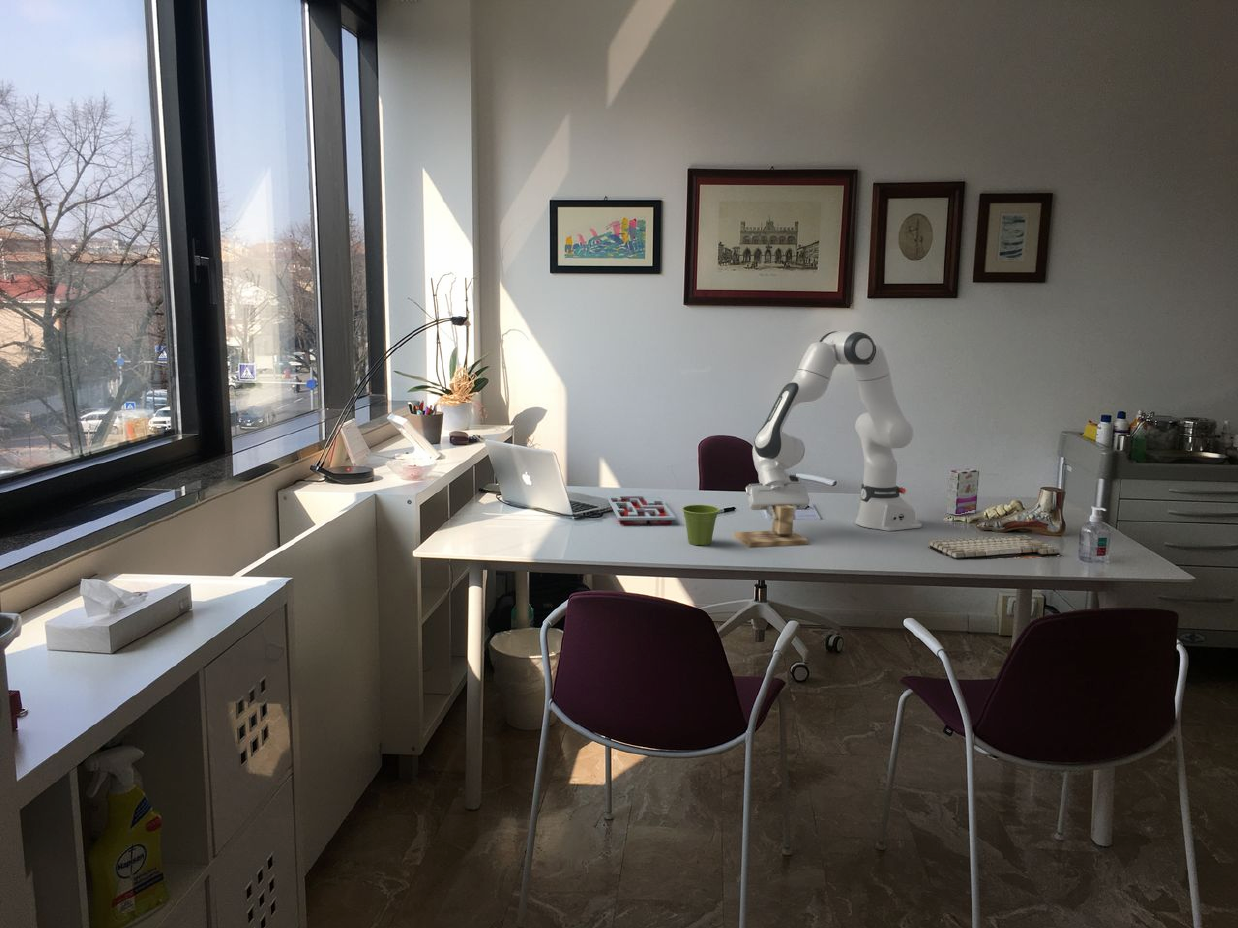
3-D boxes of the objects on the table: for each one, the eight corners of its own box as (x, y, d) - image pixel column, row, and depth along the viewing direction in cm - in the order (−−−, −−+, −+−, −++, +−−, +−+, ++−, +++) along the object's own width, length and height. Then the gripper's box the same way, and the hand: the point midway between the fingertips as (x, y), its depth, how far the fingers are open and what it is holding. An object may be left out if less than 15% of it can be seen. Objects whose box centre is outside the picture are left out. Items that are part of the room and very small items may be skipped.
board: (790, 534, 322) (790, 529, 322) (807, 544, 310) (807, 539, 309) (734, 536, 317) (734, 532, 317) (749, 547, 304) (749, 542, 304)
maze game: (675, 526, 330) (675, 517, 329) (618, 527, 327) (618, 517, 327) (658, 503, 364) (658, 495, 363) (606, 503, 361) (606, 495, 361)
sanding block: (785, 530, 317) (786, 504, 316) (792, 534, 312) (793, 507, 311) (772, 531, 316) (773, 504, 315) (779, 535, 311) (780, 508, 309)
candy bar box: (965, 510, 364) (969, 467, 361) (976, 513, 360) (980, 470, 357) (944, 513, 358) (948, 469, 355) (955, 516, 354) (959, 472, 351)
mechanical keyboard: (960, 564, 293) (961, 553, 293) (923, 548, 311) (924, 538, 311) (1063, 558, 304) (1065, 548, 303) (1022, 543, 322) (1023, 533, 321)
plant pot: (689, 536, 316) (690, 502, 314) (723, 541, 311) (725, 507, 308) (674, 544, 306) (675, 509, 303) (709, 550, 300) (710, 514, 298)
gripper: (747, 478, 315) (757, 515, 307) (805, 477, 320) (816, 513, 312) (741, 489, 320) (751, 525, 312) (798, 487, 325) (809, 523, 317)
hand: (784, 519), depth 312 cm, fingers closed on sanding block, 5 cm apart
